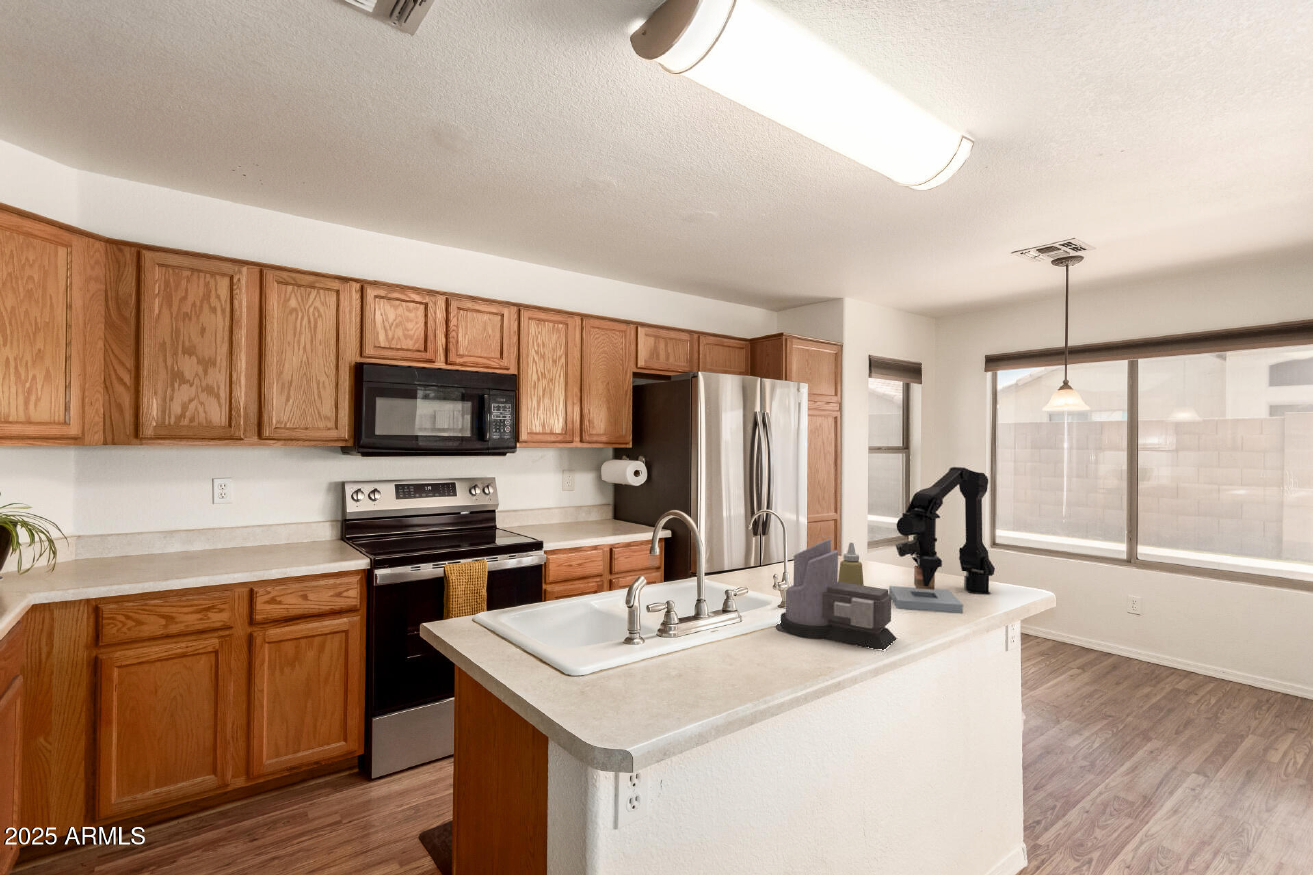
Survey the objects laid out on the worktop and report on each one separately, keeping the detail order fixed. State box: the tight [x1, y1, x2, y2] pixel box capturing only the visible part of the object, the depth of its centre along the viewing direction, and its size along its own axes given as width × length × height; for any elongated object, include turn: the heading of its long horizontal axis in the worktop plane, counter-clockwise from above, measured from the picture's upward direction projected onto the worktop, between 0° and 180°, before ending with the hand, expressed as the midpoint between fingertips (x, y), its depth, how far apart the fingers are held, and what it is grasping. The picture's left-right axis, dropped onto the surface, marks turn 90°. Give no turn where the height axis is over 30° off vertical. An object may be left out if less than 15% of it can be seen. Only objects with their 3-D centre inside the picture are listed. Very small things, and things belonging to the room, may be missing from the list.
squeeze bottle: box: [838, 542, 865, 586], centre depth 198 cm, size 8×8×18 cm
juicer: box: [774, 538, 898, 650], centre depth 166 cm, size 30×16×24 cm, turn 56°
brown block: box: [913, 565, 936, 590], centre depth 197 cm, size 5×5×6 cm
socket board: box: [888, 585, 964, 614], centre depth 197 cm, size 18×18×2 cm
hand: (924, 583), depth 197 cm, fingers closed on brown block, 5 cm apart
